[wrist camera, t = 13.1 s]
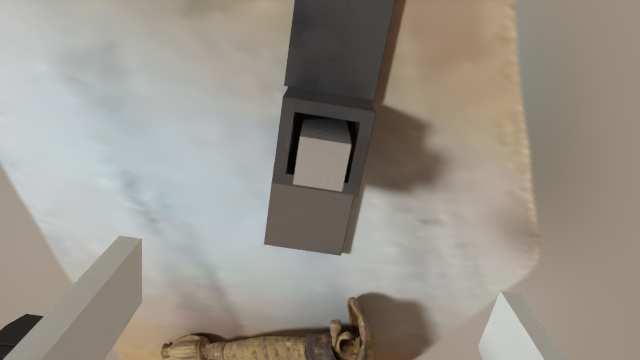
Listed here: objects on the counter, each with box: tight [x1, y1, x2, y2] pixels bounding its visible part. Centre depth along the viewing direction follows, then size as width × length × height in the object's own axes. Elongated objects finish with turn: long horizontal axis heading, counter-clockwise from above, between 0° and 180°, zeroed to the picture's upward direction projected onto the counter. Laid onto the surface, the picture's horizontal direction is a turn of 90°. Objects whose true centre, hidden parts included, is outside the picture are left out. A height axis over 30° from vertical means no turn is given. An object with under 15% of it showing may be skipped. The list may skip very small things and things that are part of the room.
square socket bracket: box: [264, 0, 395, 256], centre depth 35 cm, size 25×8×6 cm, turn 171°
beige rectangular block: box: [293, 113, 351, 192], centre depth 33 cm, size 4×4×10 cm
